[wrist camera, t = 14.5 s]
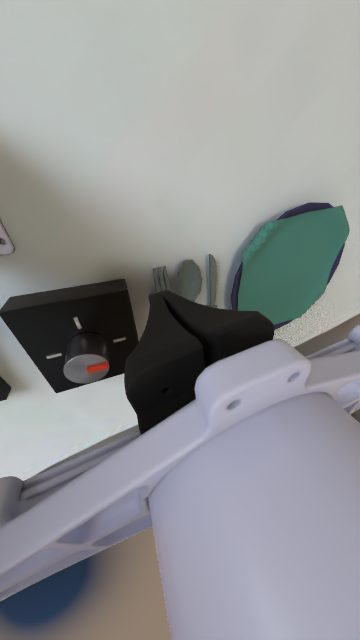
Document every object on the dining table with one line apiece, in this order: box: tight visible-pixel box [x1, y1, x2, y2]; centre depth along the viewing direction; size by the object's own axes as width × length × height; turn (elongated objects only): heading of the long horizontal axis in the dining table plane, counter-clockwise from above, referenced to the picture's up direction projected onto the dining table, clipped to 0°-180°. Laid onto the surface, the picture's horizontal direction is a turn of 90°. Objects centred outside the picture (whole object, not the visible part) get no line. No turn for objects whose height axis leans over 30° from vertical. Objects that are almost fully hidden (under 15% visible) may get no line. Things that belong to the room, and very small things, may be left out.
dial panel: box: [0, 279, 139, 393], centre depth 22 cm, size 12×11×3 cm
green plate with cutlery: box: [153, 203, 350, 330], centre depth 27 cm, size 20×30×2 cm, turn 96°
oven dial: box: [64, 333, 109, 383], centre depth 19 cm, size 4×4×4 cm
